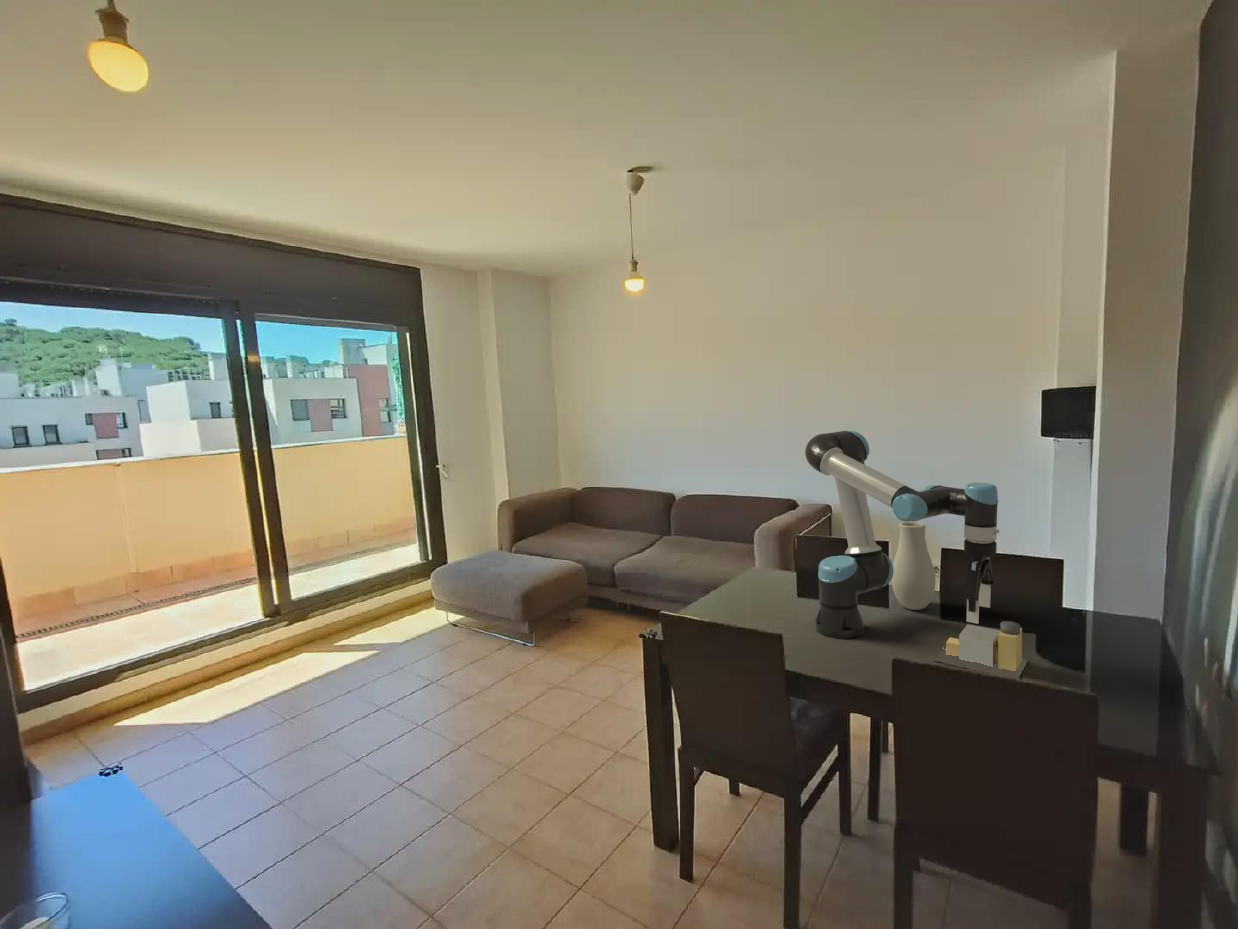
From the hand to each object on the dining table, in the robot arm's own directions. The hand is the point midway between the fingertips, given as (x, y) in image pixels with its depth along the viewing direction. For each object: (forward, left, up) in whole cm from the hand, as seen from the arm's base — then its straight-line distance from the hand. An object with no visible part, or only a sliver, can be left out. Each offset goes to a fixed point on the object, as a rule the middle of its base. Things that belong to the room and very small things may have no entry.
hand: (978, 614), depth 159 cm
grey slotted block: (0, 0, -13) cm, 13 cm away
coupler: (0, 0, -14) cm, 14 cm away
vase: (-27, +32, -14) cm, 44 cm away
